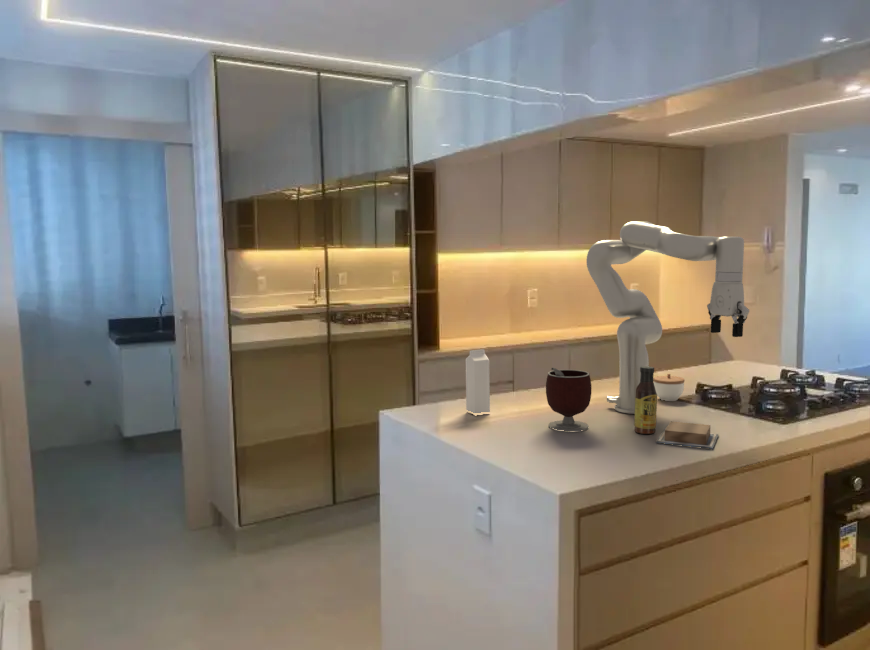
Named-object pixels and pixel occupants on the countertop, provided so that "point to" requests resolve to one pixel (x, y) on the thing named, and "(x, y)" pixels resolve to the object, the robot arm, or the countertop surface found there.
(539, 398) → the countertop surface
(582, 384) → the mate gourd
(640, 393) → the sauce bottle
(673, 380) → the lidded jar
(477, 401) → the milk
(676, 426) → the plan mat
